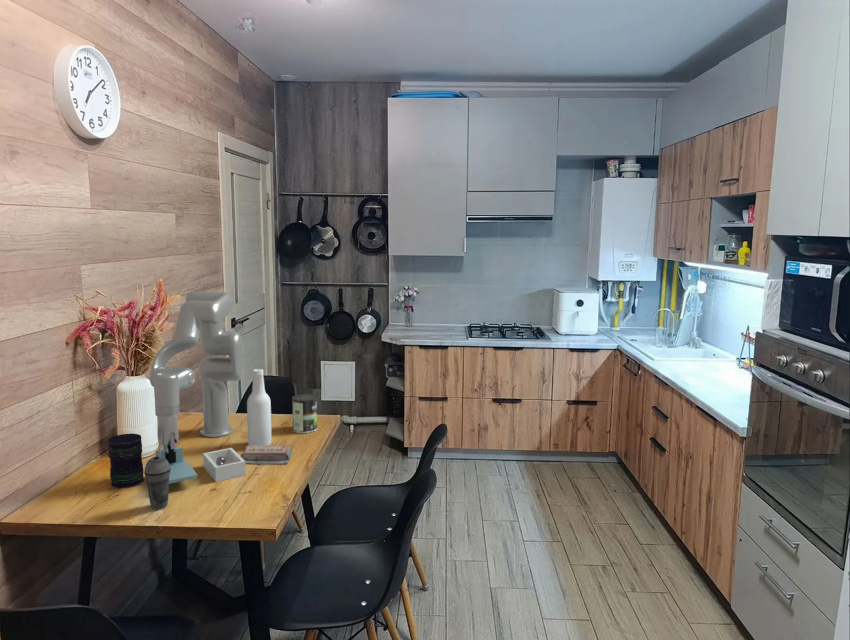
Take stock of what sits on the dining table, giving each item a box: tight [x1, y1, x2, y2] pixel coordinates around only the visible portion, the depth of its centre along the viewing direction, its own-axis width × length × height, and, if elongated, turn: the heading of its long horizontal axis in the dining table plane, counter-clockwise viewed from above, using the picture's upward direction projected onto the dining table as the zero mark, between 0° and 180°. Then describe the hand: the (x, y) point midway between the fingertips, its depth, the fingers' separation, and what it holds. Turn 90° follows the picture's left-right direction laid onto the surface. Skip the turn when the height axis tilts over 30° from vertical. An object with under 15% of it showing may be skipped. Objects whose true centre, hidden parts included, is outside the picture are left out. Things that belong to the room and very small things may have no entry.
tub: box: [202, 447, 247, 483], centre depth 201 cm, size 15×10×5 cm, turn 36°
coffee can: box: [291, 393, 318, 434], centre depth 244 cm, size 10×10×14 cm
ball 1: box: [216, 457, 225, 463], centre depth 204 cm, size 3×3×3 cm
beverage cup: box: [143, 442, 171, 511], centre depth 174 cm, size 7×7×20 cm
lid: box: [155, 445, 198, 485], centre depth 191 cm, size 15×10×6 cm
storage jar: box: [107, 433, 145, 489], centre depth 190 cm, size 10×10×15 cm
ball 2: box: [216, 461, 224, 466], centre depth 200 cm, size 3×3×3 cm
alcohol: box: [246, 368, 272, 446], centre depth 224 cm, size 9×9×30 cm
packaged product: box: [240, 444, 294, 465], centre depth 213 cm, size 18×5×10 cm
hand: (170, 461), depth 197 cm, fingers closed on lid
